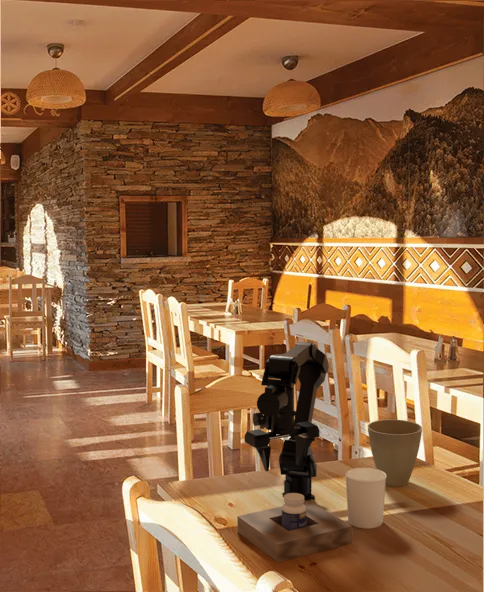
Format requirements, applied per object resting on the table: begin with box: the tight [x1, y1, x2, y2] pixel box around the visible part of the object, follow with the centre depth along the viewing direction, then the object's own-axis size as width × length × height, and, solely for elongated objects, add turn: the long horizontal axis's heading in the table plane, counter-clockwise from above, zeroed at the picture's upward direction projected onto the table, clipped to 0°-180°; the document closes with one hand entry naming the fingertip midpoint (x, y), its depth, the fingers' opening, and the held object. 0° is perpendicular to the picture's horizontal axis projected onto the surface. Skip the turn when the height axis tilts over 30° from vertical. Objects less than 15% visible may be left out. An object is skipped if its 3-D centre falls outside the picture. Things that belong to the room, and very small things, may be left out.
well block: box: [236, 500, 353, 563], centre depth 182 cm, size 20×18×4 cm
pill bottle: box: [282, 493, 306, 531], centre depth 181 cm, size 6×6×10 cm
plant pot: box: [367, 419, 423, 488], centre depth 217 cm, size 15×15×16 cm
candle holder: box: [345, 467, 387, 529], centre depth 190 cm, size 10×10×12 cm
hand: (282, 467), depth 194 cm, fingers open, 9 cm apart
